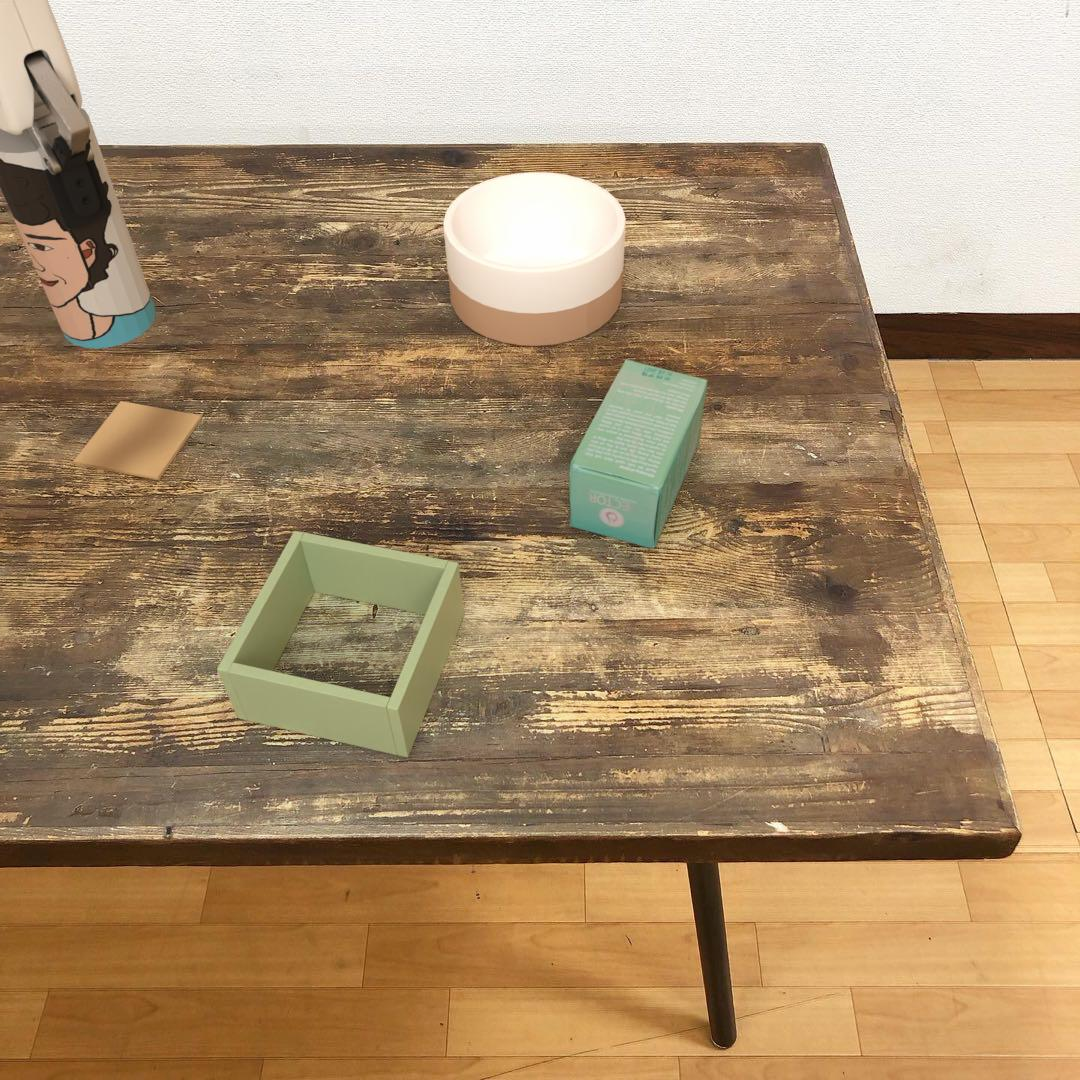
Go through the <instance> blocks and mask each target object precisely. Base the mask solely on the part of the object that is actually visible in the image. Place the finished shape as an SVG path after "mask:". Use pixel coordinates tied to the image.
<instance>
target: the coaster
mask: <svg viewBox="0 0 1080 1080" xmlns="http://www.w3.org/2000/svg"><path fill="white" fill-rule="evenodd" d="M202 420H203V416H202V415H201V414H197V413H192V412H185V411H179V410H174V409H168V408H163V407H157V406H151V405H145V404H140V403H134V402H129V401H122V400H120V401H119V403H117V405H116V407H115V408H114V409H113V410H112V412H110V414H109V415H108V417H106V419H105V420H104V421H103V423H102V424H101V425H100V426H99V428H98V429H97V430H96V431H95V433H94V435H93V436H92V437H91V438H90V439H89V441H88V442H87V443H86V444H85V445H84V447H83V448H82V449H81V451H80V452H79V453H78V455H77V456H76V457H75V459H73V463H74V465H76V466H80V467H81V466H82V467H86V468H87V467H88V468H93V469H98V470H102V471H108V472H113V473H119V474H124V475H129V476H135V477H140V478H143V479H151V480H154V481H155V480H156V481H160V479H161V478H162V476H163V475H164V474H165V472H166V471H167V469H168V468H169V467H170V465H171V464H172V463H173V461H174V459H175V458H176V457H177V455H178V454H179V452H180V451H181V449H182V448H183V446H184V445H185V444H186V443H187V441H188V440H189V438H190V437H191V435H192V434H193V432H194V431H195V429H196V428H197V427H198V425H200V422H201V421H202Z"/></svg>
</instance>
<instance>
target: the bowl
mask: <svg viewBox="0 0 1080 1080" xmlns="http://www.w3.org/2000/svg"><path fill="white" fill-rule="evenodd" d="M626 225H627V218H626V215H625V212H624V208H623V207H622V205H621V204H620V202H619V201H618V199H617V198H616V197H615V196H613V194H611V193H610V191H608V190H606V189H605V188H604V187H601V186H600V185H598V184H596V183H594V182H592V181H589V180H586V179H584V178H581V177H577V176H573V175H569V174H566V173H565V174H564V173H557V172H550V171H549V172H544V171H529V172H527V171H526V172H516V173H509V174H505V175H500V176H496V177H493V178H489V179H486V180H484V181H481V182H480V183H477V184H474V185H473V186H470V187H469V188H468V189H466V190H464V191H463V192H462V193H460V194H459V195H457V197H456V198H455V199H454V200H453V201H452V202H451V203H450V205H449V206H448V208H447V210H446V211H445V214H444V217H443V221H442V226H443V237H444V247H445V258H446V269H447V274H448V287H449V295H450V304H451V306H452V308H453V311H454V313H455V315H456V316H457V317H458V318H459V319H460V321H461V322H462V323H463V324H464V325H465V326H467V327H468V328H469V329H471V330H472V331H473V332H475V333H477V334H479V335H481V336H483V337H485V338H488V339H491V340H494V341H496V342H500V343H504V344H510V345H516V346H526V347H527V346H529V347H540V346H555V345H559V344H564V343H568V342H572V341H576V340H579V339H580V338H584V337H586V336H588V335H590V334H592V333H593V332H596V331H597V330H599V329H601V327H603V326H605V324H606V323H608V322H609V321H610V320H611V319H612V317H613V316H614V315H615V314H616V313H617V311H618V309H619V306H620V304H621V302H622V299H623V298H622V297H623V296H622V295H623V280H624V279H623V278H624V277H623V276H624V266H625V265H624V264H625V263H624V262H625V248H626V247H625V245H626V244H625V243H626V227H627V226H626Z"/></svg>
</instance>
